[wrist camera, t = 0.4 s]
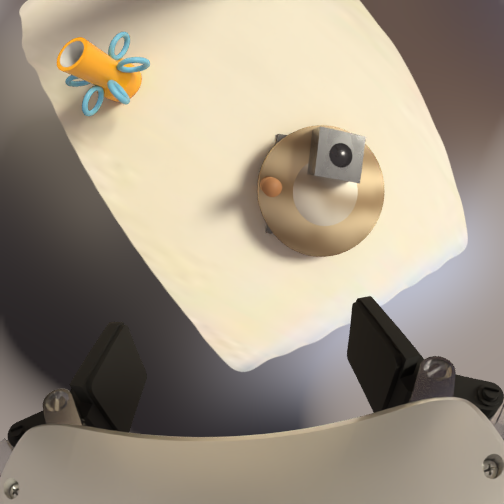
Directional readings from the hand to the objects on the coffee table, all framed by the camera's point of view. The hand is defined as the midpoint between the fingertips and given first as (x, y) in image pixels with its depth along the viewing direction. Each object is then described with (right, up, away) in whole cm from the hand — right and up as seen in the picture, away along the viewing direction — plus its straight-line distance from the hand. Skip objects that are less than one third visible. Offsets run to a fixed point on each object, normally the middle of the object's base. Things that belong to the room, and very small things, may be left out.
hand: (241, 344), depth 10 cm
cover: (+11, +16, +22) cm, 30 cm away
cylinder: (-18, +28, +20) cm, 39 cm away
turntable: (+10, +12, +27) cm, 31 cm away
